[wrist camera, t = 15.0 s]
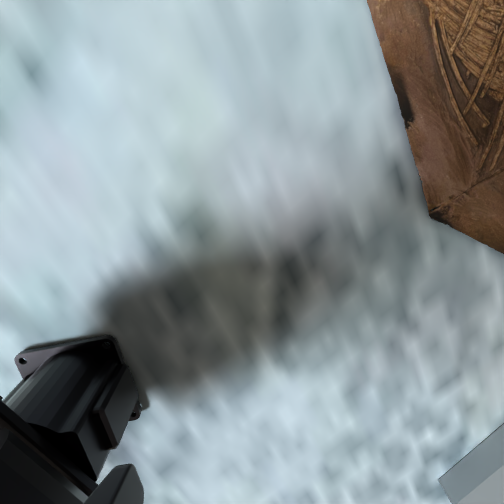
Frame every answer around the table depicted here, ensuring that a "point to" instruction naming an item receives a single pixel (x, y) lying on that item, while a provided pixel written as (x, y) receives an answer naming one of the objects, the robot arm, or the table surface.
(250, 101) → the table surface
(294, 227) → the table surface
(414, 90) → the wooden fragment
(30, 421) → the robot arm
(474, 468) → the slate ledge
